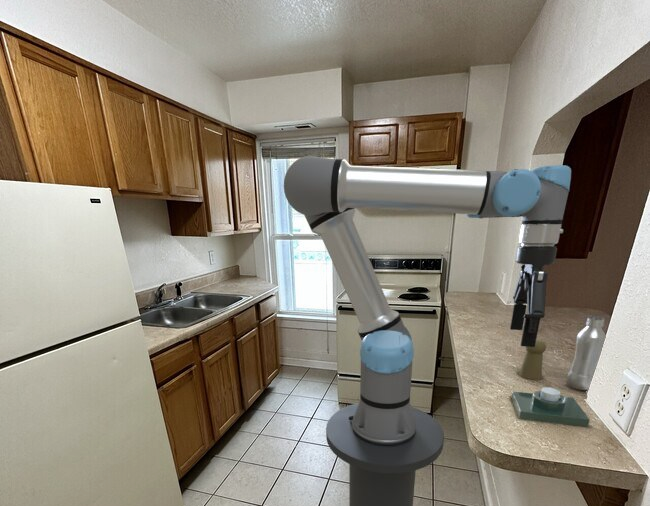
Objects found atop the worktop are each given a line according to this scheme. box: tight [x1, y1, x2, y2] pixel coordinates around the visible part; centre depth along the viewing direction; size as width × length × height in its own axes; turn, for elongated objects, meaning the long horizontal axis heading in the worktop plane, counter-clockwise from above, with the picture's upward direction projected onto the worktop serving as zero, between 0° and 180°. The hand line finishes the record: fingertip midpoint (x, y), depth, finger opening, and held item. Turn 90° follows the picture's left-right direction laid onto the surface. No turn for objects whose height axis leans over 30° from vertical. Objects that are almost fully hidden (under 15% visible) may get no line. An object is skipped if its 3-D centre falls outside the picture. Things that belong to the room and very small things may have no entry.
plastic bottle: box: [566, 316, 607, 391], centre depth 95 cm, size 6×7×20 cm
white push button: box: [540, 386, 562, 402], centre depth 85 cm, size 4×4×2 cm
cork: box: [518, 339, 547, 381], centre depth 105 cm, size 6×6×11 cm
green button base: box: [511, 390, 590, 428], centre depth 86 cm, size 14×11×4 cm
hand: (521, 337), depth 85 cm, fingers open, 13 cm apart
